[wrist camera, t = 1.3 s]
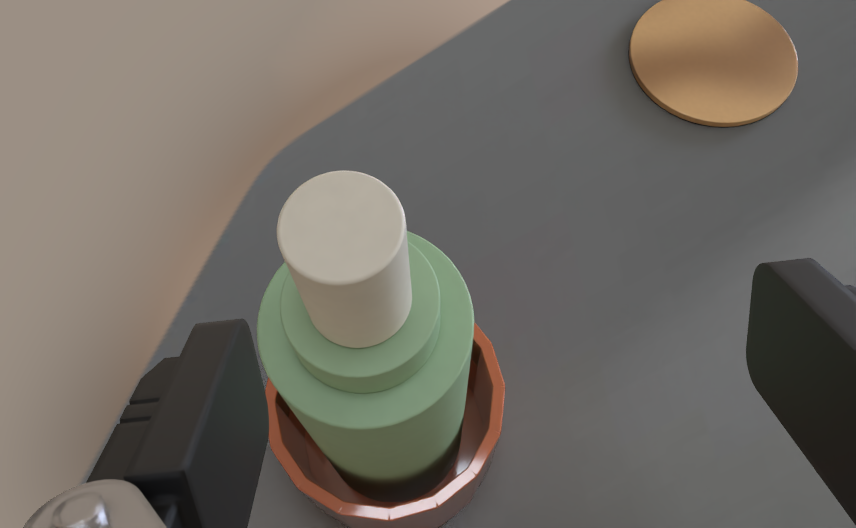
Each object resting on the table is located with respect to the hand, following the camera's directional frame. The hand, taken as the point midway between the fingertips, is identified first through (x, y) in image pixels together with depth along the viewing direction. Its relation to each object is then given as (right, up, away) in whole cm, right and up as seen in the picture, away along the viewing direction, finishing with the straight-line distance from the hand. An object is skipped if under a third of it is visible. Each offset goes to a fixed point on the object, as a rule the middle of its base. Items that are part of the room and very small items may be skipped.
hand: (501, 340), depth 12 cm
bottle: (-3, -6, +21) cm, 22 cm away
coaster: (+14, +12, +30) cm, 35 cm away
